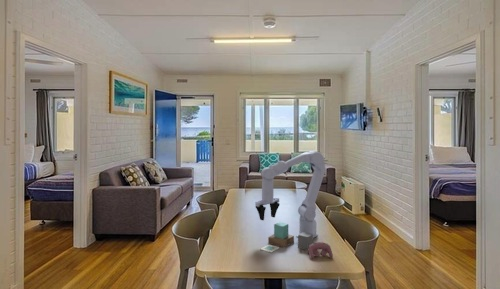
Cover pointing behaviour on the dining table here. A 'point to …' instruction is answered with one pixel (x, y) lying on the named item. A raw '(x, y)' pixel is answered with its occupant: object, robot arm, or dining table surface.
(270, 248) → the card
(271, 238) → the walnut base
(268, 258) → the dining table surface
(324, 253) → the pink arch
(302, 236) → the charcoal block
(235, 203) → the dining table surface
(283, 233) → the teal block
